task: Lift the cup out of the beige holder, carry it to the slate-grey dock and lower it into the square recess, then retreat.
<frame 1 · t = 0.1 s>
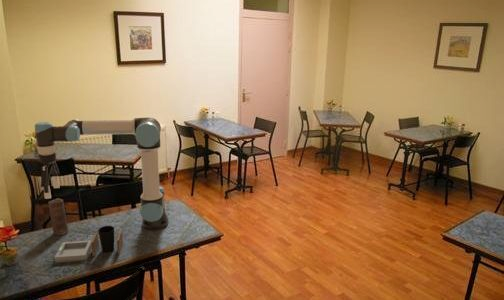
hand: (52, 192, 191), 28 cm above the table, fingers open, 13 cm apart
beige holder: (108, 250, 192), on the table
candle: (60, 233, 207), on the table
dock: (74, 253, 188), on the table
cup: (108, 250, 192), resting in beige holder
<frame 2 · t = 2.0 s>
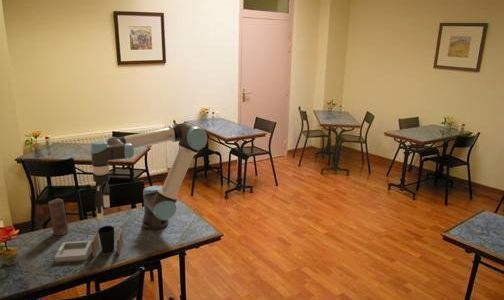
hand: (103, 212, 188), 20 cm above the table, fingers open, 13 cm apart
nothing on the table moved.
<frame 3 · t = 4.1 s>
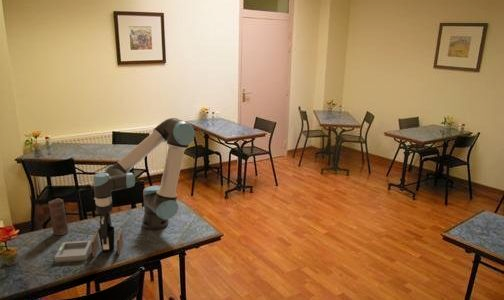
hand: (107, 244, 191), 3 cm above the table, fingers closed on cup, 8 cm apart
cup: (108, 250, 192), resting in beige holder, touching gripper
everything else where it was.
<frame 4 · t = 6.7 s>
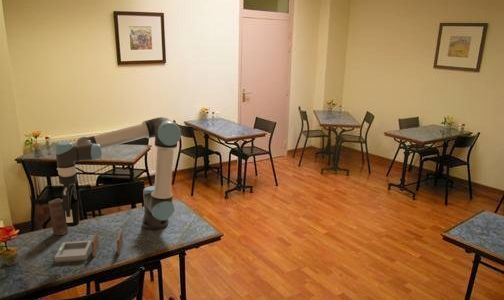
hand: (72, 218, 182), 20 cm above the table, fingers closed on cup, 8 cm apart
cup: (72, 224, 183), point 16 cm above the table, touching gripper
everything else where it was.
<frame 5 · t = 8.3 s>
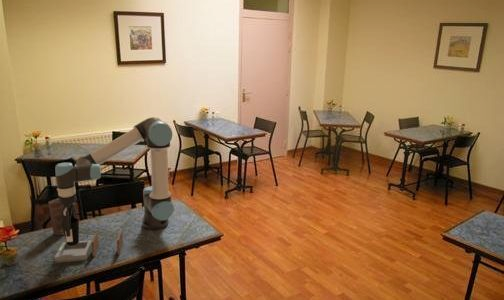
hand: (72, 237, 185), 9 cm above the table, fingers closed on cup, 8 cm apart
cup: (72, 243, 186), point 6 cm above the table, touching gripper
everything else where it was.
when the fingers open (6 cm above the table, at t = 9.4 s): cup drops 2 cm, resting on dock.
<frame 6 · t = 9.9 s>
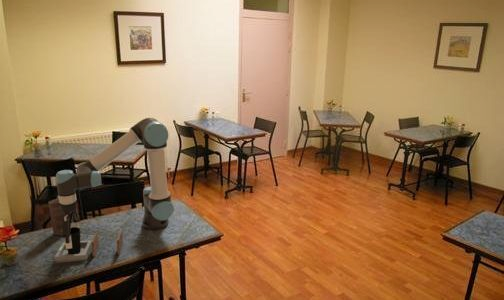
hand: (72, 241, 186), 7 cm above the table, fingers open, 13 cm apart
cup: (74, 252, 188), point 1 cm above the table, touching dock
everything else where it was.
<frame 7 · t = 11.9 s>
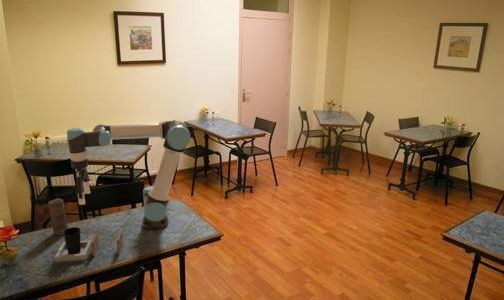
hand: (84, 198, 191), 25 cm above the table, fingers open, 13 cm apart
nothing on the table moved.
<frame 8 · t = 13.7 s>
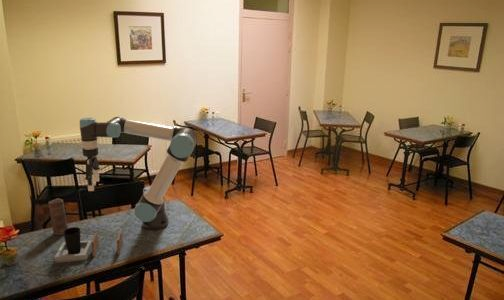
hand: (94, 185, 199), 29 cm above the table, fingers open, 13 cm apart
nothing on the table moved.
at the end: cup 0.0 cm off-centre on the dock, point 0.6 cm above the dock's base; cup tilted 0°; the gripper is holding nothing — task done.
